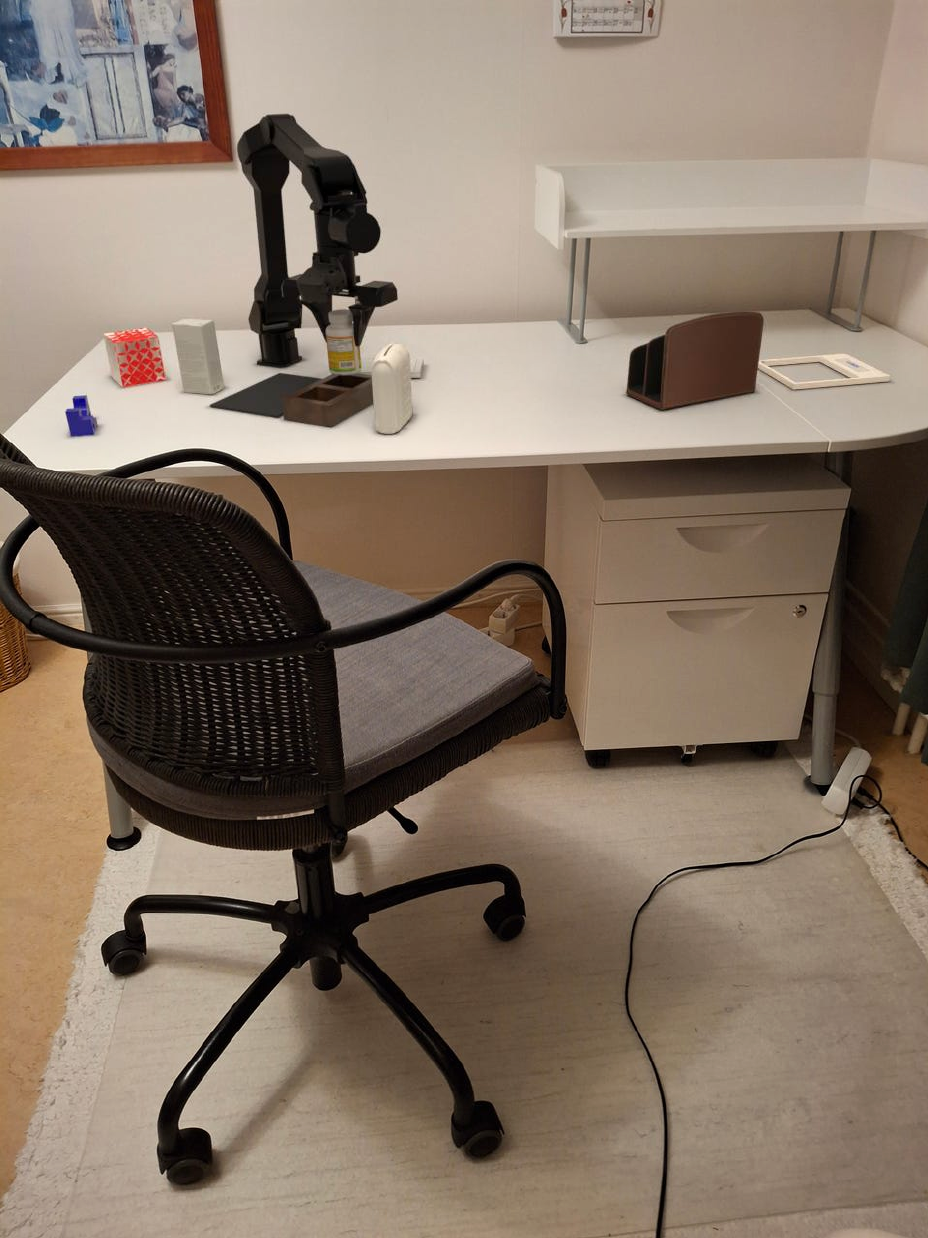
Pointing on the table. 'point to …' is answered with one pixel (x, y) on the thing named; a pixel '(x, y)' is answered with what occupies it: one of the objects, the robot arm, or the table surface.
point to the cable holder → (81, 418)
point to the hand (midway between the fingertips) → (343, 343)
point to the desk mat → (265, 395)
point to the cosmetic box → (198, 356)
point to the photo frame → (838, 362)
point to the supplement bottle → (342, 344)
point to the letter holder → (698, 361)
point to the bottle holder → (329, 400)
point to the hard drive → (415, 367)
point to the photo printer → (391, 388)
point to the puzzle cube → (135, 357)
